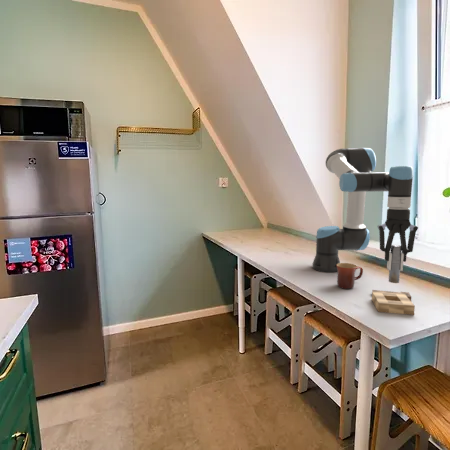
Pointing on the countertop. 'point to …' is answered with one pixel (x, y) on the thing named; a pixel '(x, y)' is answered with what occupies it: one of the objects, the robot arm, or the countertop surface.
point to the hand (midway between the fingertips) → (394, 269)
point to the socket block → (392, 303)
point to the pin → (395, 264)
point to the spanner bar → (395, 292)
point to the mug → (347, 275)
